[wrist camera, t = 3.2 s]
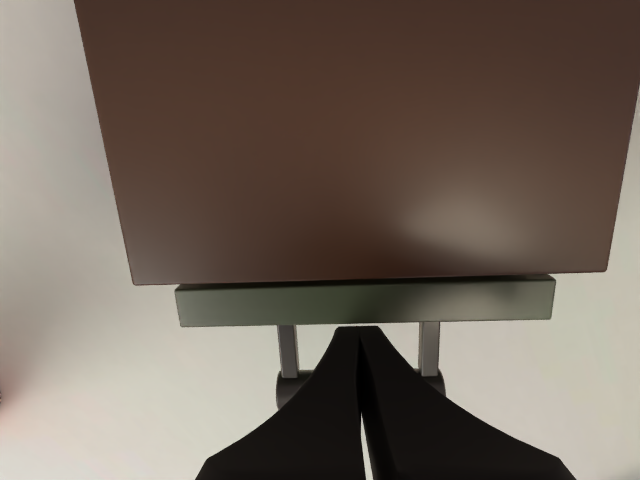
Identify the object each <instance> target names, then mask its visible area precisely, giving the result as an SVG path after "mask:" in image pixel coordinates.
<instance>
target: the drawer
mask: <svg viewBox="0 0 640 480" xmlns="http://www.w3.org/2000/svg"><path fill="white" fill-rule="evenodd" d="M555 285H556V280H555V279H554V278H553V277H551V276H550V275H548V274H522V275H487V276H451V277H416V278H381V279H346V280H311V281H276V282H241V283H206V284H180V285H179V286H178V287H177V288H176V289H175V298H176V303H177V309H178V315H179V320H180V326H181V327H214V326H261V325H277V331H278V341H279V352H280V363H281V371H279V373H278V377H277V384H276V402H277V407H278V409H280V408H281V407H282V406H284V405H285V404H286V403H287V402H288V401H289V400H290V399H291V398H292V397H293V395H294V394H295V393H296V392H297V391H298V390H299V389H300V388H301V386H302V385H303V384H304V383H305V381H306V380H307V379H308V378H309V376H310V375H311V373H312V372H313V371H314V370H299V357H298V344H297V331H296V325H309V324H357V323H405V322H419V357H418V367H419V369H414V370H415V371H416V372H417V373H418V374H419V375H420V376H421V377H422V378H424V379H425V380H426V381H427V382H428V383H429V384H430V385H431V386H433V387H434V388H435V389H436V390H438V391H439V392H440V393H442V394H443V395H444V396H445V397H446V391H445V384H444V379H443V376H442V373H441V371H440V370H439V369H438V362H439V339H440V322H452V321H500V320H548V319H551V315H552V307H553V300H554V293H555Z"/></svg>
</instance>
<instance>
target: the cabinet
mask: <svg viewBox="0 0 640 480" xmlns="http://www.w3.org/2000/svg"><path fill="white" fill-rule="evenodd" d="M74 3H75V8H76V13H77V18H78V22H79V27H80V32H81V37H82V42H83V46H84V51H85V56H86V61H87V66H88V70H89V75H90V80H91V85H92V90H93V94H94V99H95V104H96V109H97V114H98V118H99V123H100V128H101V133H102V138H103V142H104V147H105V152H106V157H107V162H108V166H109V171H110V176H111V181H112V186H113V190H114V195H115V200H116V205H117V210H118V214H119V219H120V224H121V229H122V234H123V238H124V243H125V248H126V253H127V258H128V262H129V267H130V272H131V277H132V282H133V284H134V285H171V284H206V283H241V282H276V281H311V280H346V279H381V278H416V277H451V276H487V275H522V274H557V273H592V272H605V271H606V270H607V266H608V260H609V255H610V249H611V243H612V238H613V232H614V226H615V221H616V215H617V209H618V204H619V198H620V192H621V186H622V181H623V175H624V169H625V164H626V158H627V152H628V147H629V141H630V135H631V130H632V124H633V118H634V113H635V107H636V101H637V96H638V90H639V84H640V0H74Z"/></svg>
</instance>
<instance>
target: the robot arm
mask: <svg viewBox="0 0 640 480" xmlns="http://www.w3.org/2000/svg"><path fill="white" fill-rule="evenodd" d="M361 412H362V418H363V424H364V430H365V435H366V441H367V447H368V452H369V458H370V463H371V469H372V475H373V480H576V479H575V477H574V476H573V475H572V474H571V472H570V471H569V470H568V469H567V468H566V466H565V465H564V464H563V462H562V461H561V460H560V459H559V458H558V457H556V456H553V455H551V454H549V453H547V452H544V451H542V450H540V449H538V448H535V447H533V446H531V445H529V444H526V443H524V442H522V441H520V440H517V439H515V438H513V437H511V436H509V435H507V434H506V433H504V432H502V431H500V430H498V429H496V428H494V427H492V426H491V425H489V424H487V423H485V422H484V421H482V420H480V419H478V418H477V417H475V416H473V415H472V414H470V413H469V412H467V411H466V410H464V409H463V408H461V407H460V406H458V405H457V404H455V403H454V402H452V401H451V400H449V399H448V398H447V397H445V396H444V395H443V394H442V393H440V392H439V391H438V390H436V389H435V388H434V387H433V386H431V385H430V384H429V383H428V382H427V381H426V380H425V379H424V378H422V377H421V376H420V375H419V374H418V373H417V372H416V371H415V370H414V369H413V368H412V367H411V366H410V365H409V364H408V362H407V361H406V360H405V359H404V358H403V357H402V356H401V355H400V353H399V352H398V351H397V350H396V349H395V348H394V346H393V345H392V344H391V342H390V341H389V340H388V339H387V337H386V336H385V334H384V333H383V331H382V330H381V329H380V328H379V327H378V326H345V327H338V328H337V329H336V330H335V333H334V335H333V338H332V340H331V342H330V344H329V346H328V348H327V350H326V352H325V353H324V355H323V357H322V359H321V360H320V362H319V363H318V365H317V366H316V368H315V369H314V371H313V372H312V373H311V375H310V376H309V378H308V379H307V380H306V381H305V383H304V384H303V385H302V386H301V388H300V389H299V390H298V391H297V392H296V393H295V394H294V395H293V397H292V398H291V399H290V400H289V401H288V402H287V403H286V404H285V405H284V406H282V407H281V408H280V409H279V410H278V411H277V412H276V413H275V414H274V415H273V416H272V417H271V418H269V419H268V420H267V421H265V422H264V423H263V424H262V425H260V426H259V427H257V428H256V429H255V430H253V431H252V432H250V433H249V434H248V435H246V436H245V437H243V438H242V439H240V440H238V441H237V442H235V443H233V444H232V445H230V446H228V447H227V448H225V449H223V450H222V451H220V452H218V453H216V454H215V455H213V456H211V457H209V458H208V459H207V460H206V461H205V463H204V465H203V467H202V468H201V470H200V472H199V474H198V475H197V477H196V479H195V480H366V476H365V468H364V460H363V451H362V442H361Z"/></svg>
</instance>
